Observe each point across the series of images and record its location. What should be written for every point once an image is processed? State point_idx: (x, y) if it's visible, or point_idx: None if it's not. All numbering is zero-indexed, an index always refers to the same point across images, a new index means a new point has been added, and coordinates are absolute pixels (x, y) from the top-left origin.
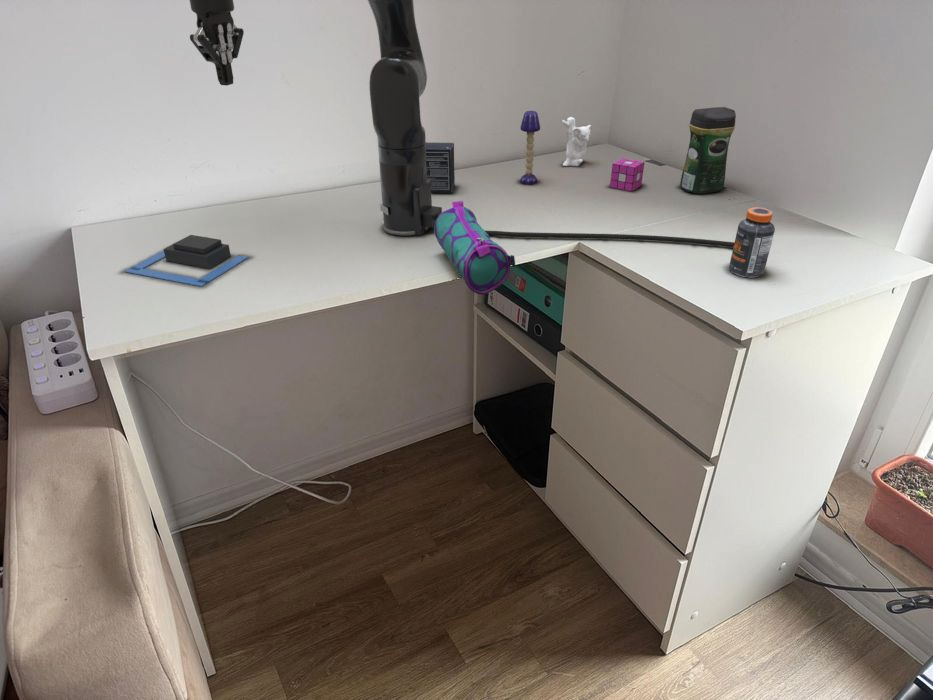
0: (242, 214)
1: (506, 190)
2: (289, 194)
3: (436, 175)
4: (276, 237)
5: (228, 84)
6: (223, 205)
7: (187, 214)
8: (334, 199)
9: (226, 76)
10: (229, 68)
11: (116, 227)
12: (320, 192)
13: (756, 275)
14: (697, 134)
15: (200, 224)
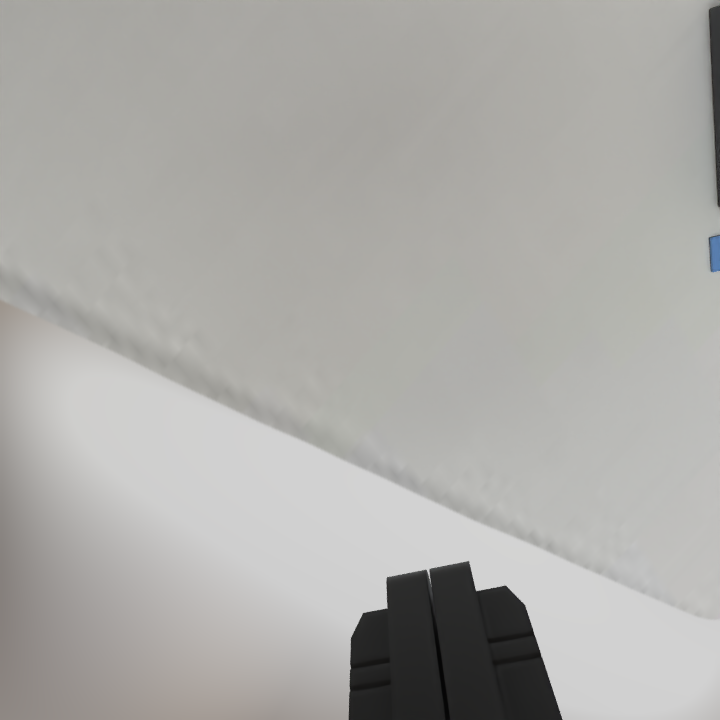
0: (382, 324)
1: None
2: (133, 349)
3: None
4: (481, 15)
5: (467, 563)
6: (358, 446)
7: (484, 470)
8: (45, 154)
9: (487, 629)
10: (423, 707)
11: (671, 543)
12: (34, 268)
13: None
14: None
15: (528, 364)
